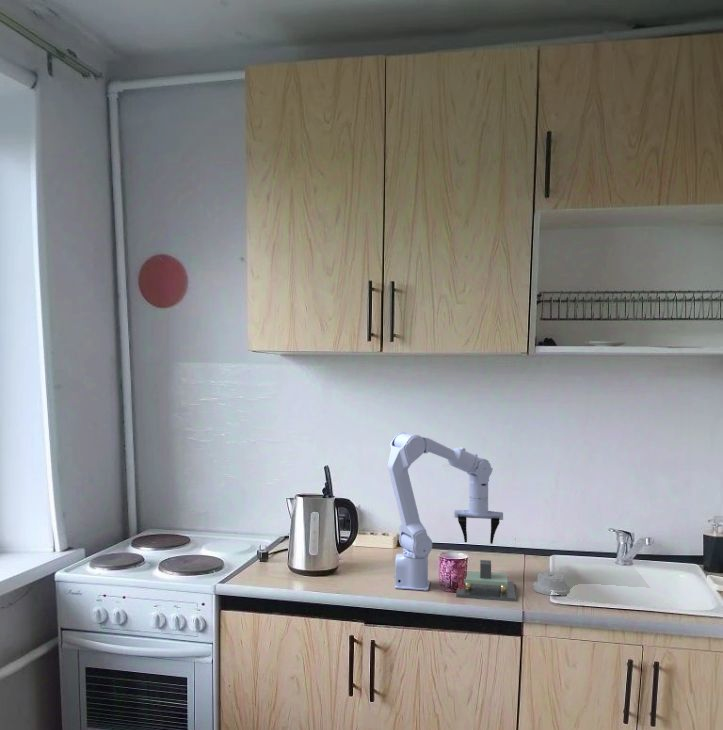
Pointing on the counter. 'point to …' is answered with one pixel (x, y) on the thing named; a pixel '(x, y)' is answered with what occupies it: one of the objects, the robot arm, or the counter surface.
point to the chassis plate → (488, 592)
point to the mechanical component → (551, 584)
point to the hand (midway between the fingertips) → (478, 542)
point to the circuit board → (493, 581)
